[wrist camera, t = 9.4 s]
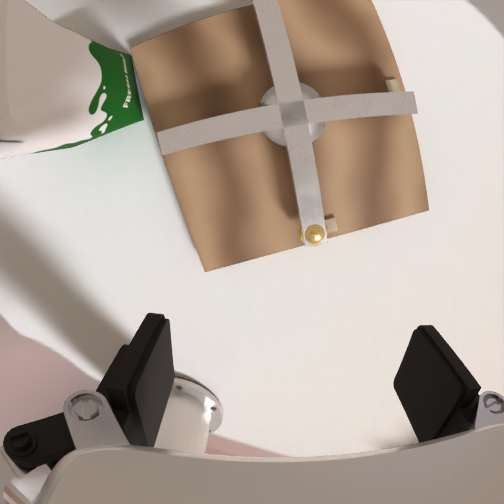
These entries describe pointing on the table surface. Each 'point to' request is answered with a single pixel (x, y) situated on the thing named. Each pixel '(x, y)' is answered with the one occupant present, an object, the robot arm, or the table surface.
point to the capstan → (289, 120)
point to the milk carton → (58, 85)
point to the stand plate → (266, 151)
